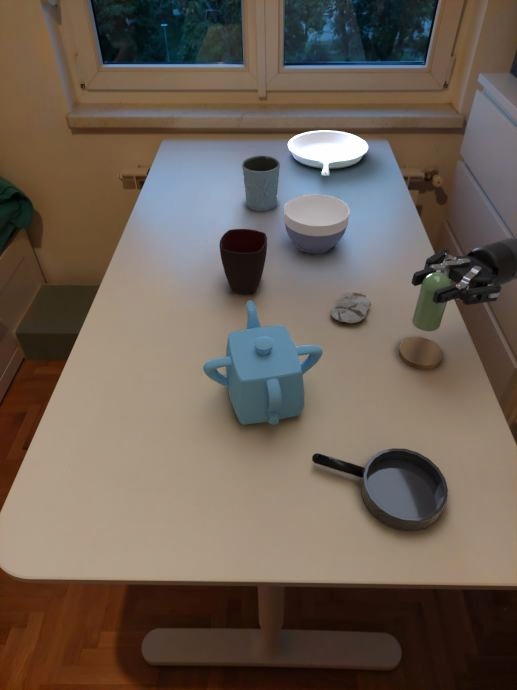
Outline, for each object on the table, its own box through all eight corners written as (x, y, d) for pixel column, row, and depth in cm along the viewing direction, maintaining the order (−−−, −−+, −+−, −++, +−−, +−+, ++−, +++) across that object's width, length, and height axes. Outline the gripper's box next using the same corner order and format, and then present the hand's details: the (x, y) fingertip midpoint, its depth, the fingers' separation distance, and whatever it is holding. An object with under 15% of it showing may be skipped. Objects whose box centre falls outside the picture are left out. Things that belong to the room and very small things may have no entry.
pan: (365, 142, 175) (367, 128, 172) (369, 192, 147) (371, 177, 144) (290, 138, 178) (291, 125, 174) (279, 187, 150) (280, 172, 147)
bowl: (358, 251, 124) (363, 216, 118) (301, 267, 119) (304, 232, 113) (325, 222, 135) (328, 188, 128) (271, 236, 130) (272, 202, 123)
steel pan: (446, 472, 78) (451, 461, 76) (437, 542, 70) (443, 532, 68) (370, 450, 81) (372, 439, 79) (353, 514, 73) (355, 504, 71)
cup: (218, 297, 111) (214, 251, 103) (232, 263, 121) (229, 218, 113) (262, 302, 110) (262, 255, 101) (272, 267, 120) (273, 221, 111)
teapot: (328, 392, 90) (335, 337, 81) (272, 451, 81) (273, 396, 72) (251, 349, 99) (249, 294, 90) (192, 397, 90) (184, 342, 81)
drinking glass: (280, 197, 146) (281, 156, 137) (276, 214, 138) (277, 172, 130) (246, 195, 147) (245, 154, 138) (240, 211, 139) (239, 170, 131)
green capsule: (445, 324, 90) (460, 276, 82) (427, 335, 87) (441, 287, 80) (424, 310, 92) (437, 263, 85) (406, 321, 90) (418, 273, 83)
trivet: (443, 346, 99) (444, 342, 98) (438, 373, 94) (440, 369, 93) (402, 336, 101) (403, 332, 101) (395, 362, 96) (396, 359, 95)
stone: (360, 331, 102) (362, 321, 101) (326, 322, 105) (327, 312, 103) (372, 304, 109) (374, 295, 107) (340, 296, 111) (341, 286, 109)
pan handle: (367, 472, 77) (369, 466, 76) (365, 481, 76) (366, 475, 74) (313, 455, 79) (314, 449, 78) (310, 464, 78) (311, 458, 77)
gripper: (477, 225, 91) (401, 248, 85) (541, 265, 81) (460, 294, 76) (465, 260, 96) (393, 284, 91) (525, 301, 87) (448, 331, 81)
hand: (424, 288), depth 83 cm, fingers closed on green capsule, 4 cm apart
